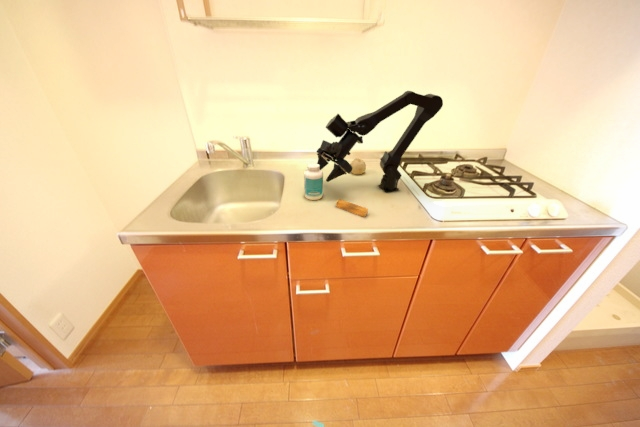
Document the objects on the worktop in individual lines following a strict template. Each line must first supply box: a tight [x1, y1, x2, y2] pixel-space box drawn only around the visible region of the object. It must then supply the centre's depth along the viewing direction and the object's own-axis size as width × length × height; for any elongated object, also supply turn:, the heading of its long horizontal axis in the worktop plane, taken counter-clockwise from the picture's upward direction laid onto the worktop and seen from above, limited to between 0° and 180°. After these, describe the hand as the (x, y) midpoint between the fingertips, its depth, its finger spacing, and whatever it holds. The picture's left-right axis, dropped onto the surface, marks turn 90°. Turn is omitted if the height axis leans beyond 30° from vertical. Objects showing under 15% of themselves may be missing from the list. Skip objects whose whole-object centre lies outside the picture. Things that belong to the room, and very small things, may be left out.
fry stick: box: [335, 198, 369, 218], centre depth 84 cm, size 12×2×2 cm, turn 54°
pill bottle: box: [303, 162, 324, 201], centre depth 90 cm, size 8×7×14 cm
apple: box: [349, 158, 367, 175], centre depth 113 cm, size 8×8×8 cm
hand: (320, 176), depth 91 cm, fingers open, 9 cm apart
